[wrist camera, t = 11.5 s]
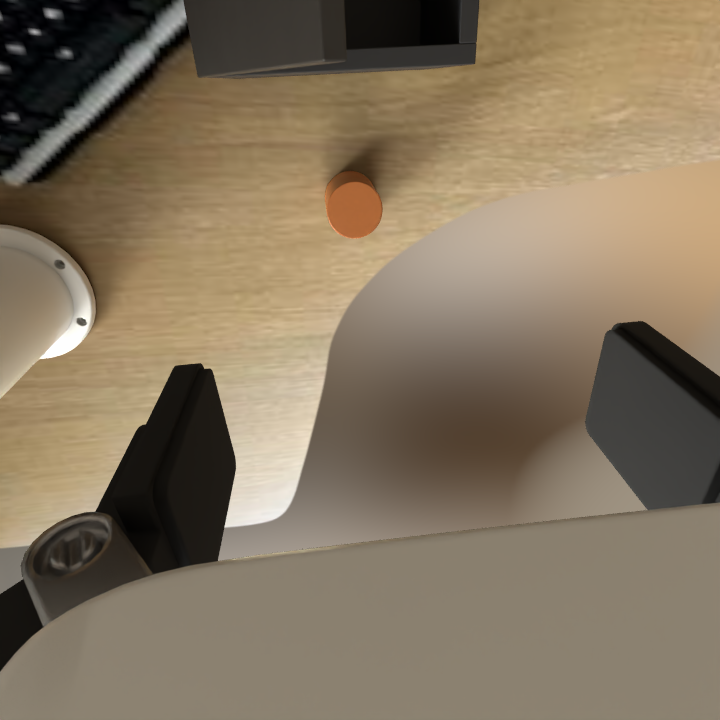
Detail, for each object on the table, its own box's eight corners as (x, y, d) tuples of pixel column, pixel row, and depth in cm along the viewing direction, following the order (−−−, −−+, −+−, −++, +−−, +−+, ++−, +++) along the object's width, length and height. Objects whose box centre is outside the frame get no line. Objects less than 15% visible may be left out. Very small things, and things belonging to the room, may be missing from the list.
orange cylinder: (343, 232, 43) (346, 248, 39) (314, 190, 41) (315, 202, 37) (384, 204, 42) (392, 218, 38) (357, 160, 40) (363, 169, 36)
